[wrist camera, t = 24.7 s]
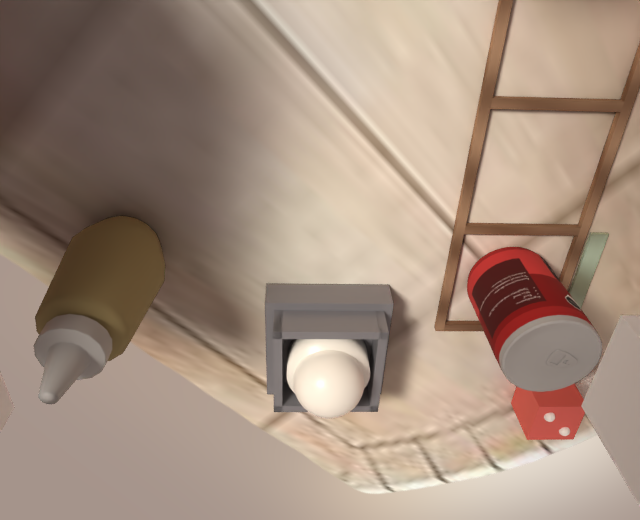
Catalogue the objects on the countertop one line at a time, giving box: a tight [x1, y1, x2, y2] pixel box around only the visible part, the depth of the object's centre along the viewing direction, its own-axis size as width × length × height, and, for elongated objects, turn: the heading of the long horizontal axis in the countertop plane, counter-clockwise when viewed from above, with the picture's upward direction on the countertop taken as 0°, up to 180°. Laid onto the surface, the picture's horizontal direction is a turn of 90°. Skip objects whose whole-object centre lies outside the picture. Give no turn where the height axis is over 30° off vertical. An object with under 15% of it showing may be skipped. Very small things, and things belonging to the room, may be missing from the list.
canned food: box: [467, 247, 602, 392], centre depth 46 cm, size 8×8×11 cm
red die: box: [511, 384, 585, 440], centre depth 57 cm, size 5×5×6 cm
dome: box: [287, 339, 370, 418], centre depth 48 cm, size 8×8×6 cm
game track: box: [435, 0, 640, 331], centre depth 45 cm, size 34×14×1 cm, turn 178°
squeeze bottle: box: [34, 216, 165, 404], centre depth 40 cm, size 8×8×18 cm
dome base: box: [265, 284, 394, 412], centre depth 51 cm, size 12×12×6 cm
